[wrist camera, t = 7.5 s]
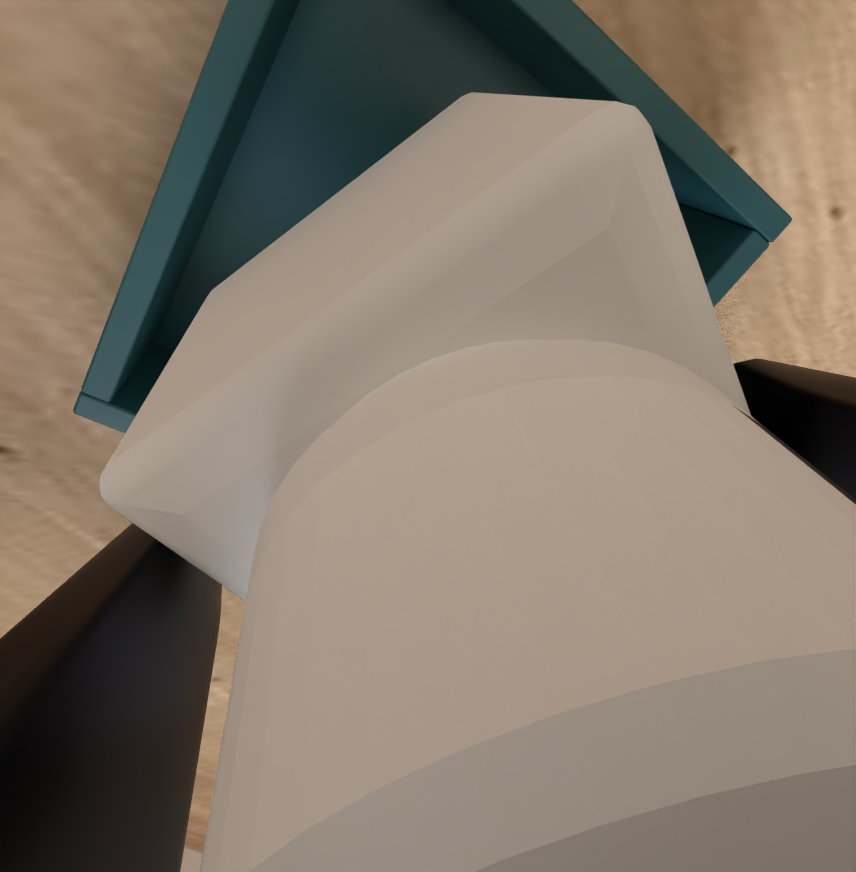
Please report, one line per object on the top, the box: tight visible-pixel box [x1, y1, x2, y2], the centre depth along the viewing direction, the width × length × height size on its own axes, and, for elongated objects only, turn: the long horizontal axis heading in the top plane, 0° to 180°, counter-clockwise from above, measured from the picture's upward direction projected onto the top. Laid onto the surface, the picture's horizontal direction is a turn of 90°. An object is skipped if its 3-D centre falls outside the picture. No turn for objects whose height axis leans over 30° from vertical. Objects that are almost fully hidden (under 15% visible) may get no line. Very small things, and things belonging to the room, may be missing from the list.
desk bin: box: [73, 0, 792, 433], centre depth 15 cm, size 13×13×4 cm
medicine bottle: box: [100, 92, 856, 872], centre depth 8 cm, size 7×7×12 cm
